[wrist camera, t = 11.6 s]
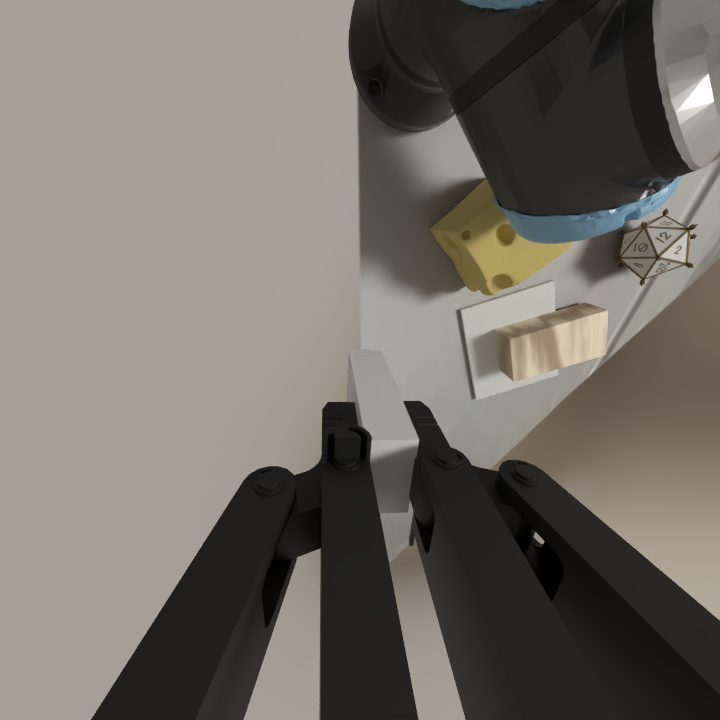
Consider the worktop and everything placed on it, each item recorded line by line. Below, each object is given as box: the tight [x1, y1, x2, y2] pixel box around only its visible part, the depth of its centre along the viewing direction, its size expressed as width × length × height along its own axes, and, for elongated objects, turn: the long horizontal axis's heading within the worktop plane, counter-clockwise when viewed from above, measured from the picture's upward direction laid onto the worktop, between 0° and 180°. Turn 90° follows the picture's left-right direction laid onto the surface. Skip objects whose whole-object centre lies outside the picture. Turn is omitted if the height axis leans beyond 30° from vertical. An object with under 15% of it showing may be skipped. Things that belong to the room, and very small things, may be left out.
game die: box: [613, 208, 698, 286], centre depth 44 cm, size 9×8×10 cm
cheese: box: [429, 179, 574, 295], centre depth 40 cm, size 10×11×10 cm
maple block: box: [495, 302, 608, 382], centre depth 49 cm, size 4×7×14 cm
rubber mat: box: [460, 280, 558, 400], centre depth 52 cm, size 14×16×1 cm
